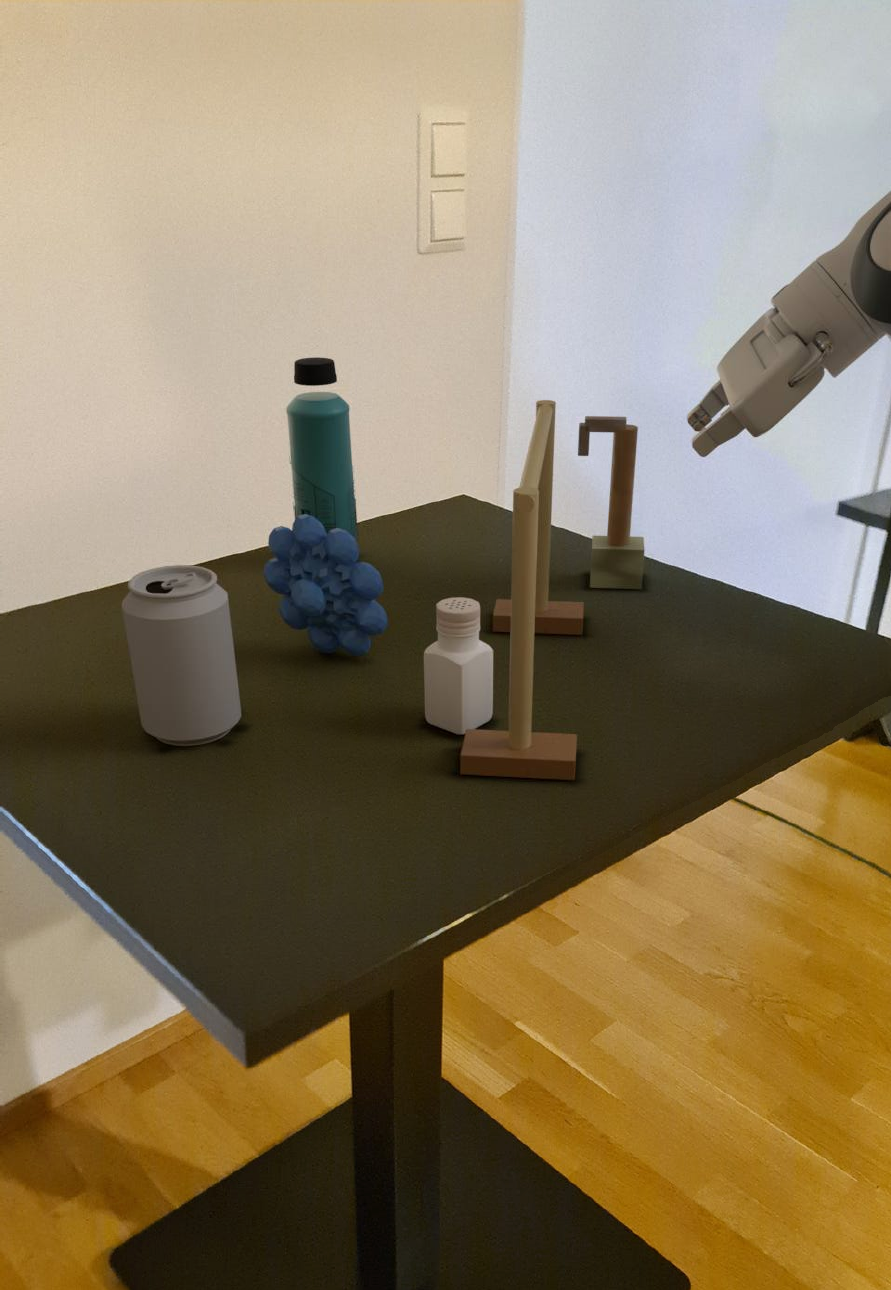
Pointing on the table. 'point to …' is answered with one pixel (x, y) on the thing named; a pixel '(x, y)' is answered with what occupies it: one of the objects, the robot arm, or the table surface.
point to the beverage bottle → (321, 449)
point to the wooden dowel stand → (528, 628)
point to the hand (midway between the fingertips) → (693, 437)
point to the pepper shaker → (458, 669)
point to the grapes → (325, 586)
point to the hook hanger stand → (616, 509)
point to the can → (182, 654)
